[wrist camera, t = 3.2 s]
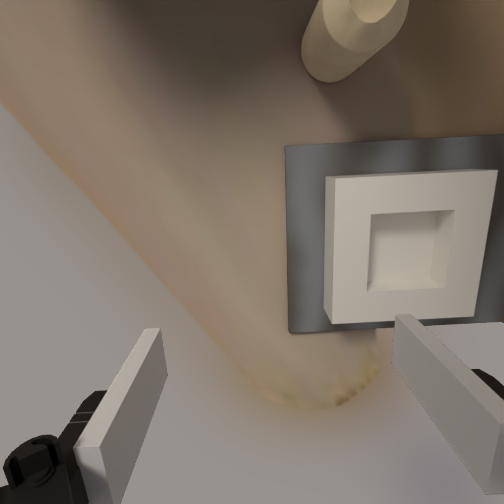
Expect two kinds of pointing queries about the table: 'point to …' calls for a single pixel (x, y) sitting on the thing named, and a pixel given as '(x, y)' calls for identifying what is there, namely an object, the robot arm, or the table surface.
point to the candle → (348, 35)
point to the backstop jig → (378, 162)
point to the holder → (405, 244)
